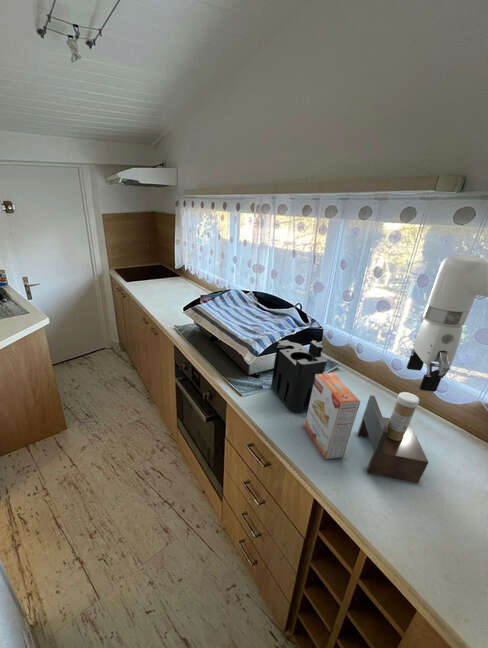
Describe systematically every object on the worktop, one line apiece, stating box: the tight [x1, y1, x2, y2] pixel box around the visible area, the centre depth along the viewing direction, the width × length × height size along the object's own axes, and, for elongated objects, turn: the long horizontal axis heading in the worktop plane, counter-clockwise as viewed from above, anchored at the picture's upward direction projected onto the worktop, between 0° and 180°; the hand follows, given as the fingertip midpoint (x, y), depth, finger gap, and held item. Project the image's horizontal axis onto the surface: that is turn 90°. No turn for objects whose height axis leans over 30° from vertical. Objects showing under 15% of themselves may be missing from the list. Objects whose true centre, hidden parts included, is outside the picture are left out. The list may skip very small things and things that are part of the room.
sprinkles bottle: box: [387, 391, 420, 441], centre depth 82 cm, size 5×5×13 cm
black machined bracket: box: [270, 339, 329, 413], centre depth 110 cm, size 12×21×22 cm, turn 13°
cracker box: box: [304, 372, 361, 460], centre depth 89 cm, size 14×6×21 cm, turn 5°
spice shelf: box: [357, 395, 429, 484], centre depth 85 cm, size 12×16×15 cm
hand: (419, 379), depth 76 cm, fingers open, 9 cm apart
